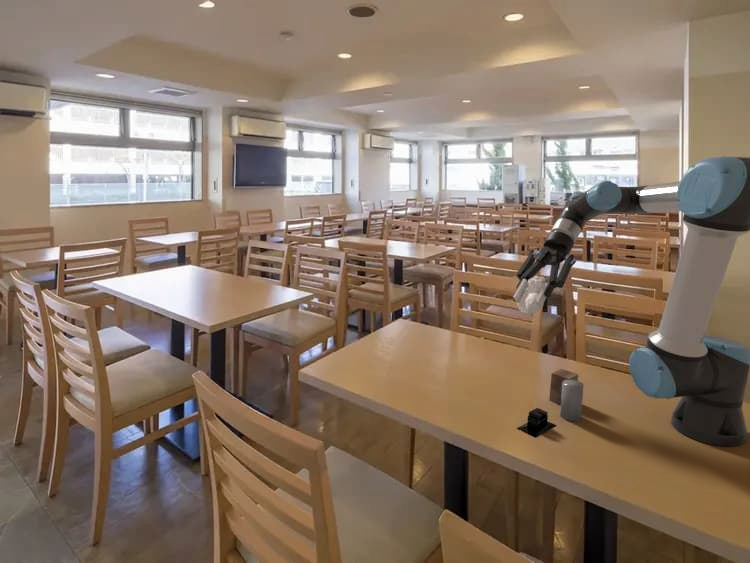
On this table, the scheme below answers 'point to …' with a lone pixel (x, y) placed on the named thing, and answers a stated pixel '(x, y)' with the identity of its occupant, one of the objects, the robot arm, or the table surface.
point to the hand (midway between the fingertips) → (526, 302)
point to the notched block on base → (537, 423)
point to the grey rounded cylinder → (571, 400)
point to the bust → (531, 295)
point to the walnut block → (559, 383)
